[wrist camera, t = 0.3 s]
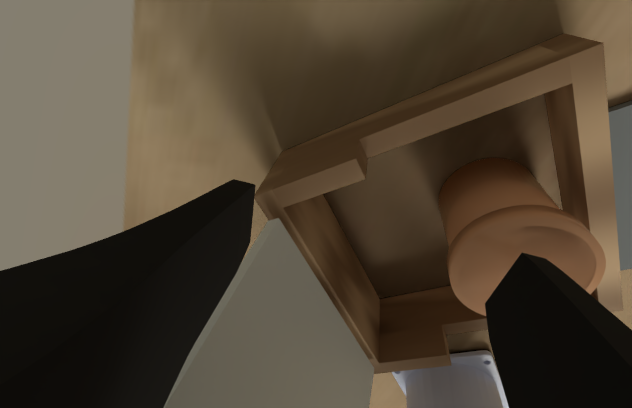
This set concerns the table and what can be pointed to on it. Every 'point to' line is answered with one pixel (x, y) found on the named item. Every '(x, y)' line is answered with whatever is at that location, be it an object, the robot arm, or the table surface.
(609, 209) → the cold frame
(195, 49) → the table surface
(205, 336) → the lid
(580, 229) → the pot
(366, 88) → the table surface
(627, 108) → the mat
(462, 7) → the table surface
